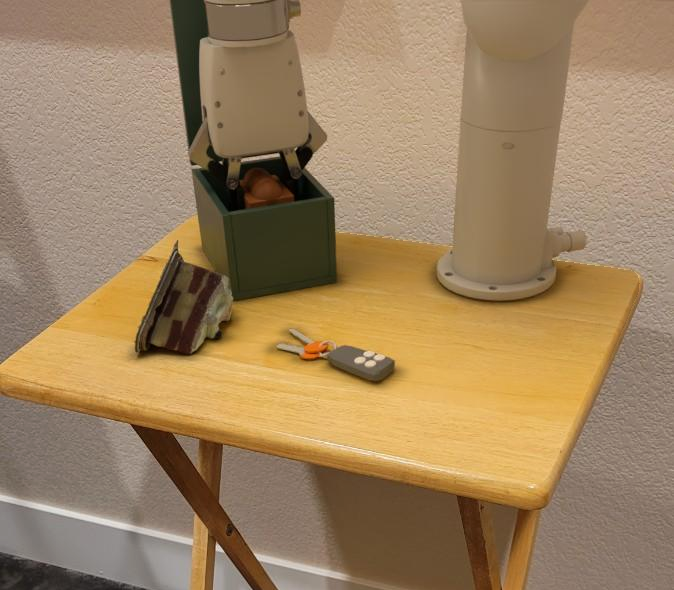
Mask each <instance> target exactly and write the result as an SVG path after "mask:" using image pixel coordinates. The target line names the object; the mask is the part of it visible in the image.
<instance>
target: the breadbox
mask: <svg viewBox="0 0 674 590" xmlns="http://www.w3.org/2000/svg"><path fill="white" fill-rule="evenodd" d="M253 168H262V169H264V170H266V171H267V172H268V173H269V174H270V175H276V176H277V177H278V178H279V180H280V174H281V172H283V171H282V168H283V164H282V161H281V158H280V155H279V156H273V157H266V158H258V159H252V160H246V161H241V166H240V174H239V181H240V180H243V179H244V176H245V175H246V173H247V172H248V171H249V170H251V169H253ZM191 178H192V185H193V191H194V198H195V199H194V200H195V206H196V207H195V208H196V213H197V214H196V215H197V221H198V227H199V236H200V242H201V248H202V251H203V253H204V254H205V256H206V258H207V259H208V261H209V263H210V265H211V266H212V268H213V270H214V272H216V273H219V274H222V275H225V276H226V277H228V279H229V281H228V289H229V290H230V291H231V293H232V295H231V296H232V297H233V302H236V301H241V300H246V299H251V298H257V297H262V296H263V297H264V296H268V295H275V294H280V293H286V292H292V291H297V290H302V289H307V288H313V287H318V286H320V287H321V286H325V285H329V284H335V283H336V284H337V283H338V276H337V275H338V267H337V239H336V238H337V237H336V236H337V235H336V210H335V209H336V208H335V207H336V206H335V204H336V203H335V197H334V196H333V195H332V194H331V193H330V192H329V191H328V190H327V189H326V188H325V186H323V185H322V184H321V183H320V181H319V180H318V179H317V178H316V177H315V176H314V175H313V174H312V173H311V172H310V171H309V170H308V168H306V167H305V168H304V169H303V170H302V175H301V177H300V178H299V179H298V185H299V199H300V201H295V202H288V203H282V204H276V205H269V206H263V207H257V208H250V209H244V210H237V211H231V212H229V208H228V200H227V192H226V185H225V184H224V183H223V182H221V181H220V180H219V179H218V178H216V177H215V176H214V175H213V174H212V173H211V172H209V171H208V170H206V169H204V168H202V167H197V168H191Z"/></svg>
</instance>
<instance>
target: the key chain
mask: <svg viewBox="0 0 674 590" xmlns="http://www.w3.org/2000/svg"><path fill="white" fill-rule="evenodd" d="M288 331H289V332H290V333H291V334H293V336H295V337H296V338H298V339H300V340H301V341H302V342H304V343H306V345H304V346H302V347H301V346H297V345H296V344H294V345H292V344H287V343H285V342H284V343H279V344H277V345H276V349H279V350H283V351H288V352H292V353H296V354H299V358H302V359H303V360H304V359H305V360H315V359H317V358H325V359H326V360H328V361H329V363H330V364H331V365H332V366H334V367H336V368H339V369H341V370H343V371H346V372H348V373H350V374H352V375H355V376H358V377H360V378H363V379H365V380H367V381H373V382H379V381H382V380H383V379H385V378H387V377H388V376H389V375H390V374H392V372H393V371H394V369H395V367H396V360H395V359H393V358H391V357H390V356H389V357H388V356H385V354H382V353H380V354H379V353H376V352H374V350H365V349H362V348H358V347H356V346H352V345H347V344H344V345H340V346H339V347H338V345H337V343H336V342H335V341H334V340H332V339H330V340H329V339H326V340H317V341H314V340H312V339H311V338H309V337H307V336H306V335H304V334H303V333H301V332H300V331H297V330H296V329H294V328H289V329H288ZM330 344H331V345H333V349H332V350H330V351H326V352H323V351H325V350H327V349H328V348H329V345H330Z"/></svg>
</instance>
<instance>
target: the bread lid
mask: <svg viewBox="0 0 674 590" xmlns="http://www.w3.org/2000/svg"><path fill="white" fill-rule="evenodd" d="M169 6H170V7H169V8H170V14H171V15H170V16H171V22H172V23H171V24H172V31H173V39H174V40H173V41H174V47H175V55H176V63H177V64H176V65H177V71H178V79H179V88H180V95H181V103H182V112H183V118H184V119H183V120H184V127H185V136H186V143H187V152H188V151H189V149H190V147H191V145H192V143H193V141H194V139H195V137H196V135H197V133H198V131H199V129H200V127H201V125H202V123H203V120H202V108H201V95H200V76H199V50H200V40H201V39H203V38H206V37H208V32H207V23H206V15H205V7H204V0H169ZM287 30H289V28H287ZM206 153H207V154H208V155H209V156H211V157H213V158H215V159H216V160H217V161H218V162H220V163H222V159H223V157H220V156H218V155H217V154H216V153H215V151H214V149H213V146H210V145H209V147H208V149H207V151H206ZM276 154H277V155H278V154H279V152H278V151H277V152H271V153H264V154H258V155H251V156H244V157H242V158H241V160H242V159H249V158H255V157H262V156H268V155H276ZM188 159H189V160H188V161H189V164H190V166H193V167H194V166H198V165H197V164H196V163H194V162H193V161H191V159H190V158H189V157H188Z"/></svg>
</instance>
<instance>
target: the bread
mask: <svg viewBox="0 0 674 590" xmlns="http://www.w3.org/2000/svg"><path fill="white" fill-rule="evenodd" d="M240 185H241V186H242V188H243V189H244V194H245V196H244V200H245V209H250V208H257V207H263V206H269V205H276V204H282V203H288V202H294V195H293V194H292V193H291V192H290V191H289V190H288V189H287V188H286V187H285V186H284V185H283V183H282V182H281V181H280V180H279V178H278V177H277V176H276V175H270V174H269V173H268V172H267V171H266V170H264V169H262V168H253V169H251V170H249V171H248V172H247V173H246V175H245V176H244V179H243V180H240Z"/></svg>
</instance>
